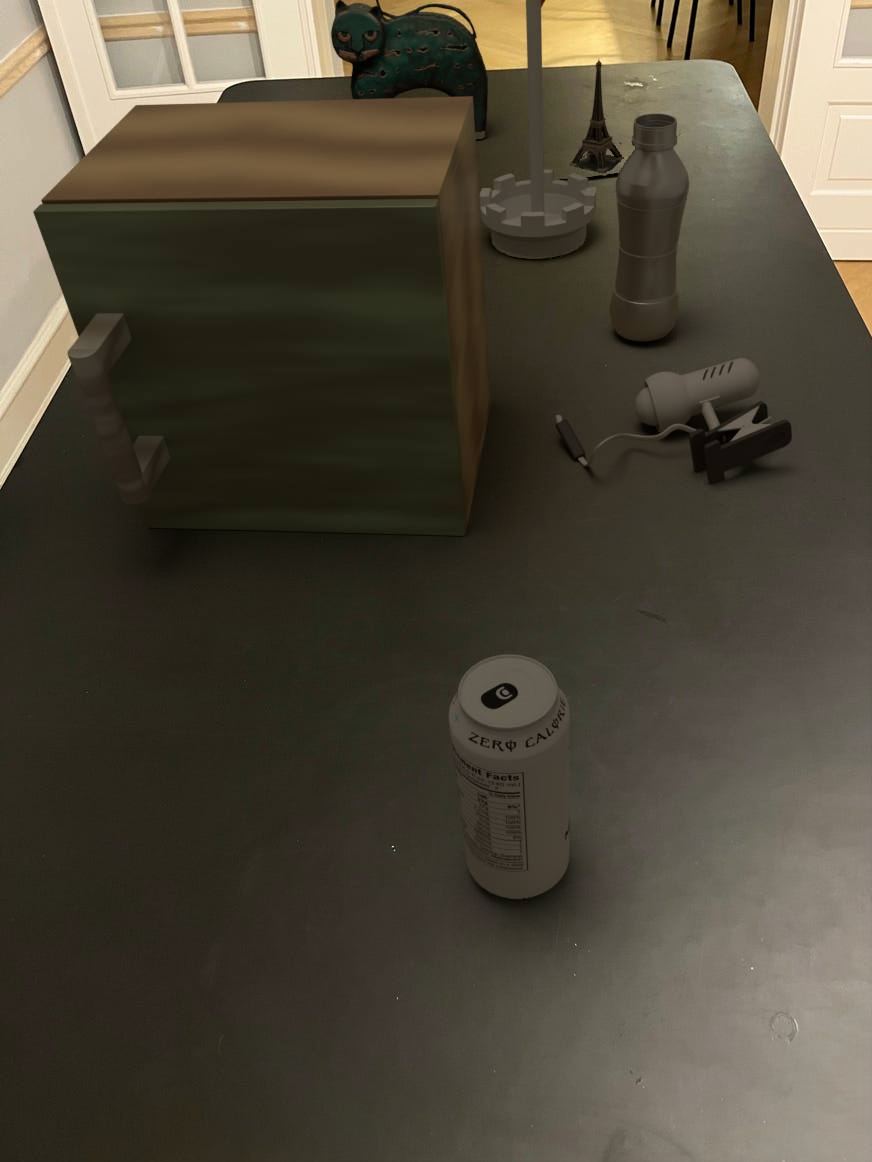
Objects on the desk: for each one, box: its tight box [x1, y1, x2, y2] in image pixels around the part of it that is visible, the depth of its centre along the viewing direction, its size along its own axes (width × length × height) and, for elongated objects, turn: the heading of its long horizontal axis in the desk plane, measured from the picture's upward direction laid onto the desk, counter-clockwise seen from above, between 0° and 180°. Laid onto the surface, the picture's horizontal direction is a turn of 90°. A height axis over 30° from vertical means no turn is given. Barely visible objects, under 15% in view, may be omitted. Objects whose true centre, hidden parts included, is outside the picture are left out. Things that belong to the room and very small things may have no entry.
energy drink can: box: [448, 654, 571, 900], centre depth 56 cm, size 6×6×15 cm
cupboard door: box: [32, 199, 468, 537], centre depth 73 cm, size 7×26×26 cm, turn 84°
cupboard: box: [40, 96, 492, 526], centre depth 82 cm, size 18×26×26 cm
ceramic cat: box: [330, 0, 489, 132], centre depth 138 cm, size 20×6×20 cm, turn 90°
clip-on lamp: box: [555, 357, 793, 485], centre depth 87 cm, size 12×6×18 cm
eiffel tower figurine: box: [569, 59, 632, 174], centre depth 130 cm, size 15×10×13 cm
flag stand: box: [479, 0, 597, 257], centre depth 110 cm, size 13×13×30 cm
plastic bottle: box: [609, 113, 691, 342], centre depth 96 cm, size 6×7×20 cm
